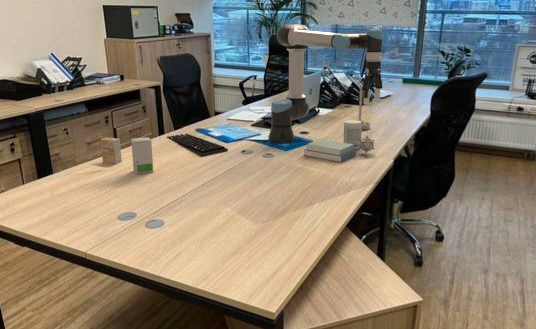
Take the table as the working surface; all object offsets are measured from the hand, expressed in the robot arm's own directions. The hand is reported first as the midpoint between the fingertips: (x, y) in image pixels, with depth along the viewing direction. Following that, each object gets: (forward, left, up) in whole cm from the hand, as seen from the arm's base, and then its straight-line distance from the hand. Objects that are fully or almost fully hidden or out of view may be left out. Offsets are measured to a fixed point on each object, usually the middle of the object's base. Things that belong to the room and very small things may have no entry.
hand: (371, 102), depth 232 cm
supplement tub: (-11, +2, -27) cm, 29 cm away
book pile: (-13, -19, -26) cm, 35 cm away
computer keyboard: (-84, -48, -27) cm, 101 cm away
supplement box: (-92, -96, -27) cm, 136 cm away
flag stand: (-28, +44, -27) cm, 59 cm away
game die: (+1, -5, -27) cm, 27 cm away
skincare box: (-70, -94, -27) cm, 120 cm away
